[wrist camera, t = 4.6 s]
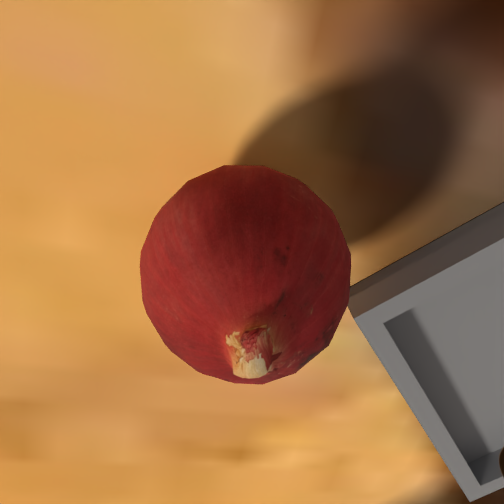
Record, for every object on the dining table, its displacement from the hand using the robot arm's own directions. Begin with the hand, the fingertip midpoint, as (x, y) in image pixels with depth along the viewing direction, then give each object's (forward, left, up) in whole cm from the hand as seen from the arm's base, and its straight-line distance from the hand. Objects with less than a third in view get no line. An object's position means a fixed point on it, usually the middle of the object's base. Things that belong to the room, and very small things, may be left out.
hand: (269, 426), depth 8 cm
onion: (0, 0, -10) cm, 10 cm away
